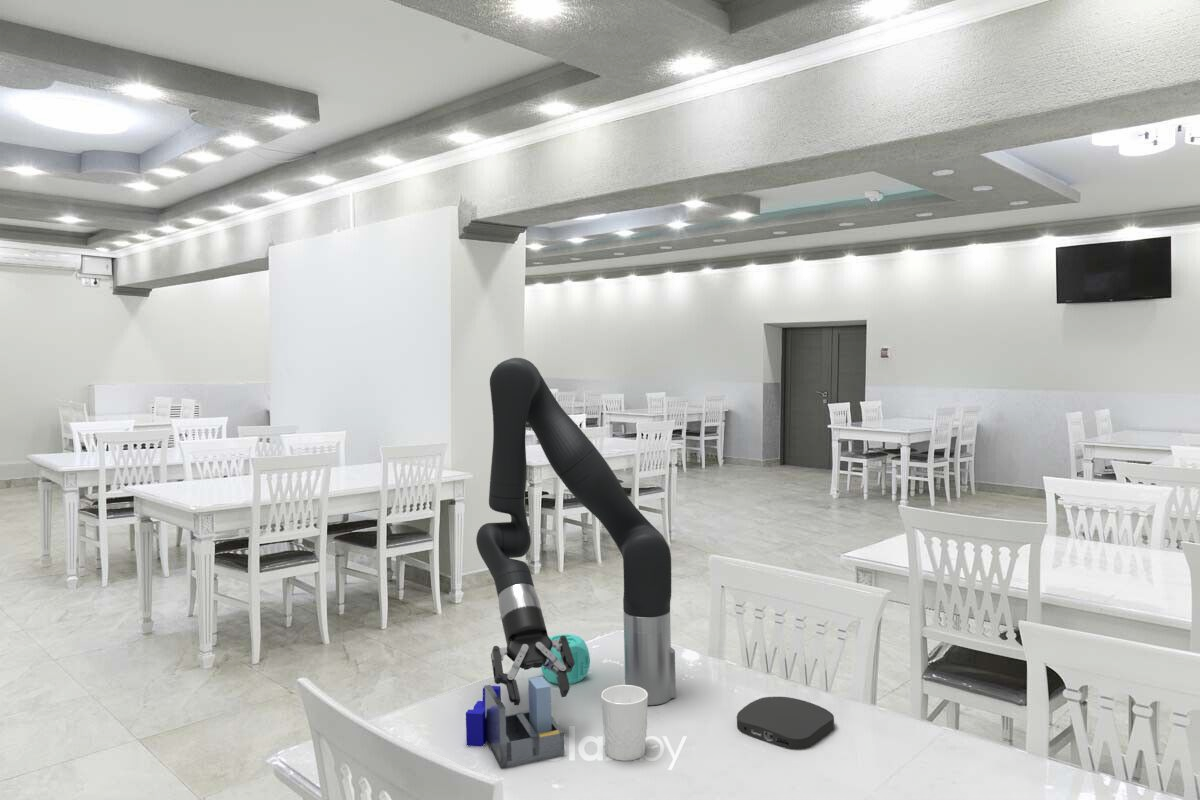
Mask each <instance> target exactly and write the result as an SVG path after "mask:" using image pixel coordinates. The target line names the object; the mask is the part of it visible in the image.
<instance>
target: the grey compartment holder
mask: <svg viewBox="0 0 1200 800" xmlns="http://www.w3.org/2000/svg"><path fill="white" fill-rule="evenodd" d="M484 686H485V711H486V743H487V745H488V747H489V749H490V751H491V753H492V755H493V757H494V758H495V760H496V762H497V765H498V766H499V767H500V770H502V769H506V768H507V769H508V768H511V767H512V768H513V767H516V766H520V765H526V764H531V763H535V762H541V761H545V760H550V759H555V758H560V757H565V756H566V755H565V754H566V753H565V750H566V749H565V732H564V731H563V729H562V728H561V726H560V725H559V724H558V722H557V721H556V720H555V719H554V717H553V716H552V715H551V726H552V731H550V732H545V733H540V734H539V736H538V735H537V734H536V732H535V731H534V729H533V728H532V726H531V725H530V722H529V710H528V711H523V712H522V711H521V712H517V713H512V714H506V707H505V705H504V703H503V702H502V699H501V700H500V699H499V697H498V696H497V694H496V693H495V691H494V689H493V688H492V686H493V685H491V684H485V685H484Z"/></svg>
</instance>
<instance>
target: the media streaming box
mask: <svg viewBox="0 0 1200 800" xmlns="http://www.w3.org/2000/svg"><path fill="white" fill-rule="evenodd" d="M736 728H737V730H738V731H739V732H741V733H742V734H744V735H746V736H748V737H752V738H754V739H758V740H760V741H763V742H766V743H769V744H771V745H775V746H777V747H780V748H784V749H788V750H795V751H798V750H800V751H801V750H806V749H809V748H812V747H814V746H815V745H816V744H818V743H819V742H820V741H822V740H823V739H825V738H826V737H827V736H828V735H829V734H831V733H832V732H833V731H834V730H835V715H833V713H832V712H830V711H829V710H828V709H826V708H824V707H822V706H821V705H818V704H814V703H812V702H809V701H807V700H802V699H799V698H794V697H789V696H766V697H765V696H764V697H760V698H758V699H755V700H753V701H752V702H749V703H748V704H747V705H745V706H744V707H743V708H741V709H740V710H739V711H738V712H737V714H736Z"/></svg>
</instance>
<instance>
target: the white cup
mask: <svg viewBox="0 0 1200 800" xmlns="http://www.w3.org/2000/svg"><path fill="white" fill-rule="evenodd" d="M600 694H601V695H600V696H601V697H600V700H601V711H602V712H601V713H602V715H601V716H602V725H603V735H604V743H605V746H604V747H605V753H606V754H607V756H608V757H609V758H611V759H613V760H615V761H624V762H626V761H635V760H637V759H638V760H639V759H641V758H642V757H643V756H644V755H645V753H646V738H647V729H648V705H647V701H648V693H647V692H646V690H644V689H643V688H640V687H637V686H632V685H625V684H618V685H614V686H613V685H612V686H609V687H607V688H605V689H604V690H603V691H602V692H601V693H600Z"/></svg>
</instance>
